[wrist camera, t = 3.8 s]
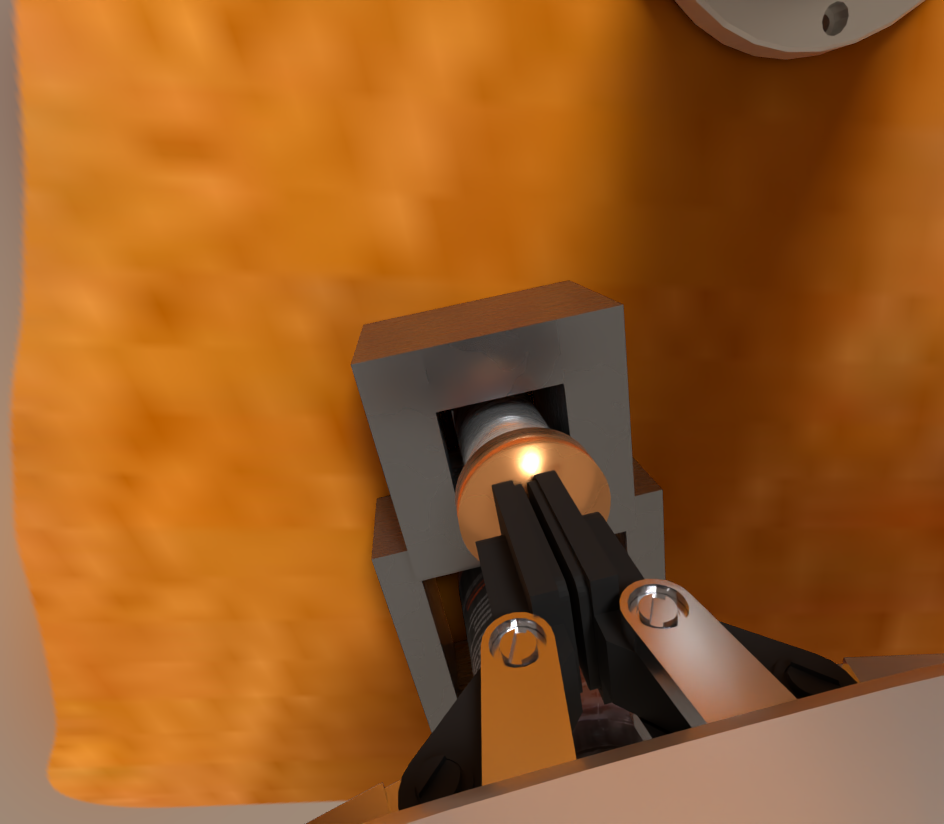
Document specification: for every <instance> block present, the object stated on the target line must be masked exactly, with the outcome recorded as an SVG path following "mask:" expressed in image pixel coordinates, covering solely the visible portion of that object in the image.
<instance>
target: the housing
mask: <svg viewBox="0 0 944 824" xmlns="http://www.w3.org/2000/svg"><path fill="white" fill-rule="evenodd" d="M351 367H352V370H353V373H354V377H355V380H356V383H357V387H358V390H359V393H360V396H361V400H362V403H363V406H364V409H365V413H366V416H367V419H368V423H369V426H370V429H371V432H372V436H373V439H374V442H375V446H376V449H377V452H378V455H379V459H380V462H381V465H382V469H383V472H384V475H385V478H386V482H387V485H388V488H389V491H390V496H386V497H381V498H377V502H376V514H375V526H374V538H373V550H372V562H373V565H374V567H375V570H376V573H377V576H378V579H379V582H380V585H381V588H382V591H383V593H384V596H385V599H386V602H387V605H388V608H389V611H390V614H391V617H392V619H393V622H394V625H395V628H396V631H397V634H398V637H399V640H400V643H401V645H402V648H403V651H404V654H405V657H406V660H407V663H408V666H409V669H410V671H411V674H412V677H413V680H414V683H415V686H416V689H417V692H418V694H419V697H420V700H421V703H422V706H423V709H424V712H425V715H426V718H427V720H428V723H429V726H430V729H431V732H433V731H434V730H435V728H436V727H437V726H438V724H439V723H440V722H441V720H442V719H443V717H444V716H445V715H446V713H447V712H448V711H449V709H450V708H451V707H452V705H453V704H454V703H455V701H456V700H457V698H458V697H459V696H460V694H461V693H462V692H463V690H464V689H465V688H466V686H467V685H468V684H469V682H470V681H471V680H472V678H473V677H474V675H473V671H472V665H471V658H470V652H469V645H468V640H464V641H460V642H456V643H454V642H453V639H452V635H451V632H450V628H449V625H448V621H447V618H446V614H445V611H444V607H443V604H442V600H441V597H440V593H439V589H438V586H437V582H436V579H435V577H439V576H443V575H448V574H452V573H456V572H460V571H464V570H468V569H472V568H476V567H480V566H481V565H480V561H479V560H477V559H476V558H475V557H474V556H473V555H472V554H471V552H470V551H469V550H468V548H467V547H466V545H465V543H464V541H463V538H462V535H461V532H460V527H459V522H458V516H457V511H456V504H455V490H456V484H457V481H458V478H459V475H460V473H461V471H462V469H463V467H464V462H463V458H462V453H461V449H460V445H459V448H458V449H454V450H450V451H448V448H447V444H446V440H445V436H444V431H443V427H442V423H441V419H440V414H439V412H440V411H444V410H449V409H451V412H452V417H453V421H454V409H455V408H457V407H462V406H466V405H471V404H475V403H479V402H484V401H488V400H493V399H497V398H501V397H506V396H510V395H515V394H519V393H524V392H528V391H532V390H533V394H534V401H535V407H536V409H537V410H538V412H539V413H540V415H541V416H542V418H543V419H544V421H545V422H546V424H547V425H548V427H549V428H550V429H553V430H557V431H560V432H563V433H565V434H567V435H569V436H571V437H572V438H573V439H575V440H576V441H578V442H579V443H580V444H581V445H582V446H583V447H584V448H585V450H586V451H587V452H588V454H589V455H590V456H591V458H592V459H593V460H594V461H595V463H596V464H597V465H598V467H599V468H600V469H601V471H602V472H603V474H604V476H605V478H606V480H607V482H608V485H609V489H610V495H611V506H610V513H609V516H608V520H607V523H608V525H609V526H610V528H611V529H612V531H613V532H614V534H615V535H616V537H617V538H618V540H619V541H620V543H621V544H622V546H623V547H624V549H625V550H626V552H627V553H628V555H629V556H630V558H631V559H632V561H633V562H634V564H635V565H636V567H637V568H638V570H639V571H640V573H641V574H642V576H643V577H644V579H662V580H665V554H664V521H663V490H662V489H661V487H660V486H659V485H658V484H657V483H656V482H655V481H654V480H653V479H652V478H651V477H650V475H649V474H648V473H647V472H646V471H645V470H644V469H643V468H642V467H641V466H640V465H639V463H638V462H637V461H636V460H635V459H634V458H633V457H632V443H631V426H630V409H629V392H628V375H627V358H626V341H625V324H624V307H623V304H621V303H618V302H616V301H614V300H612V299H610V298H607V297H605V296H603V295H601V294H598V293H596V292H594V291H592V290H589V289H587V288H585V287H583V286H581V285H578V284H576V283H574V282H572V281H564V282H559V283H555V284H550V285H546V286H541V287H536V288H532V289H527V290H522V291H518V292H513V293H509V294H504V295H499V296H495V297H490V298H485V299H481V300H476V301H472V302H467V303H462V304H458V305H453V306H449V307H444V308H439V309H435V310H430V311H425V312H421V313H416V314H412V315H407V316H402V317H398V318H393V319H388V320H384V321H379V322H375V323H370V324H365V325H363V328H362V331H361V334H360V337H359V341H358V344H357V347H356V350H355V353H354V356H353V359H352V363H351ZM454 426H455V424H454ZM455 430H456V429H455ZM456 435H457V433H456ZM457 439H458V437H457ZM458 444H459V441H458Z"/></svg>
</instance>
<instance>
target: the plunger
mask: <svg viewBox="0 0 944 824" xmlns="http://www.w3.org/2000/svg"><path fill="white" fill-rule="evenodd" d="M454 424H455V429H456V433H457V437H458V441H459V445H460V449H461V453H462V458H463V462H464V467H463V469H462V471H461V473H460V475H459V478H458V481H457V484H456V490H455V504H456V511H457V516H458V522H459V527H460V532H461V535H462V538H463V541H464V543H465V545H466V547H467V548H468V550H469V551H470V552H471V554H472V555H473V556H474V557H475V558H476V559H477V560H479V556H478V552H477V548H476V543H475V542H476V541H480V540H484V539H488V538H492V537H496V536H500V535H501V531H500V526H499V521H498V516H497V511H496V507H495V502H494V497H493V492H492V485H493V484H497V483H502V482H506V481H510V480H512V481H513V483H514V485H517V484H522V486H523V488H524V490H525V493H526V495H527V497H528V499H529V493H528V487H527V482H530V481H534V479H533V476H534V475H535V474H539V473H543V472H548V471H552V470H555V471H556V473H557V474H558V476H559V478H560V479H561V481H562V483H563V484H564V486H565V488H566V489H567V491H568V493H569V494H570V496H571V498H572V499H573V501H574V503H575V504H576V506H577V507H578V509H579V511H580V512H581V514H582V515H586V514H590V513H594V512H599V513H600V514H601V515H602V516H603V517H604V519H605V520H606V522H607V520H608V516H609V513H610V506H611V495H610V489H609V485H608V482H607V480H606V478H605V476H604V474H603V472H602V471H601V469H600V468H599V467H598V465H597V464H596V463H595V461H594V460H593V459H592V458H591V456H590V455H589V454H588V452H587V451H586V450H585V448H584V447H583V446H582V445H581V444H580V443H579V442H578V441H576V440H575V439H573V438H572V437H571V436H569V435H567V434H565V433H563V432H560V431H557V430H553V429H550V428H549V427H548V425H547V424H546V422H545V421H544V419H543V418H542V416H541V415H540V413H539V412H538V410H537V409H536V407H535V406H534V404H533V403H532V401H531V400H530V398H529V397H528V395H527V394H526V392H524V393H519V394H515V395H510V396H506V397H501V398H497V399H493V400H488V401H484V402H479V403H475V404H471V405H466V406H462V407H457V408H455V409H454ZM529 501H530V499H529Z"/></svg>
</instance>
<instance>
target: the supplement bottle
mask: <svg viewBox="0 0 944 824" xmlns="http://www.w3.org/2000/svg"><path fill="white" fill-rule="evenodd" d="M458 578H459V592H460V598H461V604H462V610H463V617H464V622H465V627H466V634H467V640H468V645H469V652H470V658H471V665H472V671H473V675H475V674H476V673H477V671H478V670H479V669H480V667H481V642H482V636H483V634H484V633H485V631H486V629H487V627H488V626H489V625H490V624H491V623H493V622H494V621H493V617H492V613H491V608H490V604H489V600H488V595H487V591H486V587H485V582H484V578H483V574H482V569H481V566H480V567H476V568H472V569H468V570H464V571H460V572H459V577H458ZM579 667H580V666H579ZM580 674H581V681H582V688H583V693H580V695H581V702H582V709H583V712H582V714H581V716H580V718H579V720H578V722H577V724H576V726H575V728H574V730H573V732H572V737H573V743H574V748H575V754H576V760H577V759H580V758H584V757H587V756H591V755H595V754H598V753H602V752H605V751H609V750H613V749H616V748H620V747H624V746H627V745H631V744H635V743H638V742H642V741H643V739H642V738H641V736H640V735H639V733H638V732H637V730H636V728H635V727H634V725H633V723H632V720H631V718H630V714H629V711H627V710H625V709H623V708H621V707H619V706H617V705H615V704H613V703H609V704H605V705H604V702H603V700H602V697H601V695H600V693H599V690H598V689H594V690H591V691H590V690H589V688H588V686H587V684H586V681H585V679H584V676H583V674H582V671H581V669H580Z"/></svg>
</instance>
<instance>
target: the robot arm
mask: <svg viewBox="0 0 944 824" xmlns="http://www.w3.org/2000/svg"><path fill="white" fill-rule="evenodd" d="M924 1H925V0H675V2H676V3H677V4H678V5H679V6H680V7H681V8H682V10H683V11H684V12H685V13H686V14H687V15H688V16H689V18H690V19H691V20H692V21H693V22H694V23H695V24H696V25H697V26H698V27H700V28H701V29H703V30H704V31H705V32H707V33H708V34H710V35H711V36H712V37H714V38H715V39H717V40H718V41H719V42H721V43H722V44H724V45H726V46H729V47H732V48H734V49H737V50H739V51H742V52H745V53H747V54H750V55H752V56H757V57H766V58H776V59H785V60H787V59H794V58H802V57H809V56H816V55H821V54H824V53H826V52H829V51H832V50H835V49H838V48H841V47H844V46H847V45H850V44H853V43H856V42H858V41H860V40H862V39H864V38H866V37H868V36H871V35H873V34H875V33H877V32H879V31H881V30H883V29H885V28H887V27H889V26H891V25H892V24H894V23H895V22H896V21H898V20H899V19H900V18H902V17H903V16H905V15H906V14H907V13H909V12H910V11H911V10H913V9H914V8H915V7H917V6H918V5H920V4H921V3H922V2H924ZM533 479H534V481H530V482H527V487H528V493H529V499H530V501H529V499H528V497H527V495H526V493H525V490H524V488H523V486H522V484H517V485H514V483H513V481H512V480H510V481H506V482H502V483H497V484H493V485H492V492H493V497H494V502H495V507H496V511H497V516H498V521H499V526H500V531H501V535H500V536H496V537H492V538H488V539H484V540H480V541H476V542H475V543H476V548H477V552H478V556H479V561H480V565H481V569H482V574H483V578H484V582H485V587H486V591H487V595H488V600H489V604H490V608H491V613H492V617H493V621H494V622H493V623H491V624H490V625H489V626H488V627H487V629H486V631H485V633H484V634H483V636H482V642H481V667H480V669H479V670H478V671H477V673H476V674H475V675H474V677H473V678H472V680H471V681H470V682H469V684H468V685H467V686H466V688H465V689H464V690H463V692H462V693H461V694H460V696H459V697H458V698H457V700H456V701H455V703H454V704H453V705H452V707H451V708H450V709H449V711H448V712H447V713H446V715H445V716H444V717H443V719H442V720H441V722H440V723H439V724H438V726H437V727H436V728H435V730H434V731H433V732H432V734H431V735H430V736H429V738H428V739H427V741H426V742H425V743H424V745H423V746H422V747H421V749H420V750H419V751H418V753H417V754H416V755H415V757H414V758H413V759H412V761H411V762H410V764H409V765H408V767H407V769H406V771H405V772H404V774H403V776H402V779H401V780H399V781H397V782H395V783H393V784H392V785H390V786H388V787H386V788H385V787H384V785H383V782H382V783H380V784H378V785H376V786H375V787H373V788H371V789H369V790H367V791H365V792H363V793H362V794H360V795H358V796H356V797H354V798H352V799H350V800H349V801H347V802H345V803H343V804H341V805H339V806H337V807H336V808H334V809H332V810H330V811H328V812H326V813H324V814H323V815H321V816H319V817H317V818H315V819H313V820H311V821H309V822H308V823H306V824H944V654H923V655H897V656H871V657H845V658H844V659H843V664H835V663H834V662H833V661H831V660H829V659H826V658H824V657H822V656H820V655H817V654H815V653H812V652H809V651H806V650H803V649H800V648H797V647H794V646H791V645H788V644H785V643H782V642H779V641H776V640H773V639H770V638H767V637H764V636H761V635H758V634H755V633H752V632H749V631H746V630H744V629H741V628H738V627H735V626H732V625H729V624H726V623H723V622H720V621H718V620H717V619H716V618H715V617H714V616H712V615H711V614H710V613H709V612H708V611H707V610H706V609H705V608H704V607H703V606H702V605H701V604H700V603H699V602H698V601H697V600H696V599H695V598H694V597H693V596H692V595H691V594H690V593H689V592H688V591H687V590H685V589H684V588H683V587H681V586H680V585H677V584H675V583H673V582H671V581H667V580H662V579H644V577H643V576H642V574H641V573H640V571H639V570H638V568H637V567H636V565H635V564H634V562H633V561H632V559H631V558H630V556H629V555H628V553H627V552H626V550H625V549H624V547H623V546H622V544H621V543H620V541H619V540H618V538H617V537H616V535H615V534H614V532H613V531H612V529H611V528H610V526H609V525H608V523H607V522H606V520H605V519H604V517H603V516H602V515H601V514H600V513H599V512H594V513H590V514H586V515H582V514H581V512H580V511H579V509H578V507H577V506H576V504H575V503H574V501H573V499H572V498H571V496H570V494H569V493H568V491H567V489H566V488H565V486H564V484H563V483H562V481H561V479H560V478H559V476H558V474H557V473H556V471H555V470H552V471H548V472H543V473H539V474H535V475H534V476H533ZM579 666H580V667H579ZM580 669H581V671H582V674H583V676H584V679H585V681H586V684H587V686H588V688H589V690H590V691H591V690H594V689H598V690H599V693H600V695H601V697H602V700H603V702H604V705H605V704H609V703H613V704H615V705H617V706H619V707H621V708H623V709H625V710H627V711H629V714H630V718H631V720H632V723H633V725H634V727H635V728H636V730H637V732H638V733H639V735H640V736H641V738H642V739H643V741H642V742H638V743H635V744H631V745H627V746H624V747H620V748H616V749H613V750H609V751H605V752H602V753H598V754H595V755H591V756H587V757H584V758H580V759H577V760H576V754H575V748H574V743H573V737H572V732H573V730H574V728H575V726H576V724H577V722H578V720H579V718H580V716H581V714H582V712H583V709H582V702H581V695H580V693H583V688H582V681H581V674H580Z"/></svg>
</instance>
